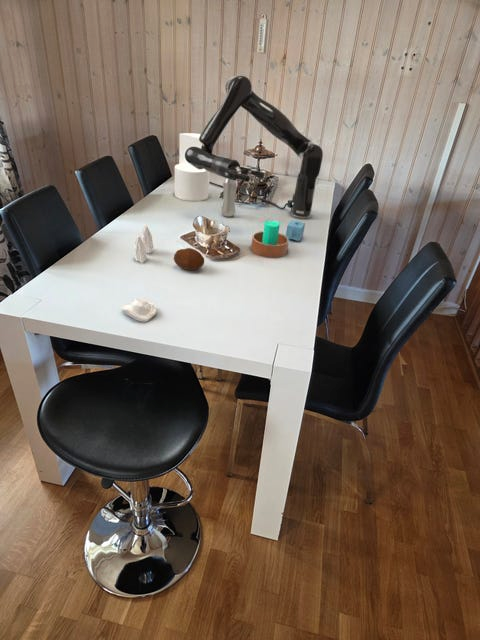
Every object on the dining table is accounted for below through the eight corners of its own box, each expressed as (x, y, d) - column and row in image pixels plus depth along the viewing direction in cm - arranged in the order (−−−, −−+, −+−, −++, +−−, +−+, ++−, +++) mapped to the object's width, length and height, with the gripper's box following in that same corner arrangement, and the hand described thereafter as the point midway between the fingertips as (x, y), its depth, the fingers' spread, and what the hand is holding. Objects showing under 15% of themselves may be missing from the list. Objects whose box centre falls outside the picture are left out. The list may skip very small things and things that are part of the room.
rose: (117, 308, 120) (124, 290, 128) (119, 321, 123) (125, 303, 131) (154, 310, 121) (158, 292, 129) (154, 323, 124) (158, 305, 132)
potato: (175, 261, 157) (175, 242, 153) (205, 264, 158) (206, 245, 153) (171, 272, 150) (171, 252, 146) (203, 275, 150) (203, 255, 146)
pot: (244, 244, 175) (246, 233, 173) (275, 241, 181) (277, 229, 178) (261, 259, 165) (263, 247, 162) (293, 255, 171) (295, 243, 168)
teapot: (297, 245, 179) (300, 228, 175) (283, 242, 180) (285, 225, 176) (303, 235, 189) (306, 219, 185) (289, 233, 190) (292, 216, 186)
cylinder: (190, 188, 232) (191, 131, 216) (215, 196, 224) (218, 138, 209) (167, 194, 219) (167, 135, 204) (193, 203, 212) (195, 142, 196)
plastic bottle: (218, 216, 200) (221, 171, 189) (224, 212, 205) (227, 168, 194) (231, 219, 198) (234, 174, 187) (237, 215, 203) (240, 171, 192)
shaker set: (145, 248, 164) (144, 220, 158) (156, 250, 164) (155, 222, 158) (132, 261, 154) (130, 232, 148) (143, 263, 154) (142, 234, 148)
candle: (278, 247, 174) (282, 218, 168) (274, 252, 170) (278, 223, 163) (263, 244, 176) (267, 215, 169) (259, 249, 171) (262, 220, 164)
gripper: (213, 159, 166) (245, 169, 157) (238, 155, 175) (269, 164, 167) (212, 179, 170) (243, 190, 161) (236, 174, 179) (267, 184, 171)
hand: (256, 177), depth 164 cm, fingers open, 8 cm apart
